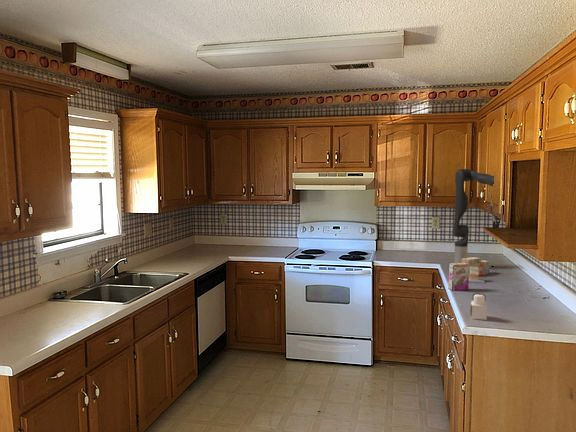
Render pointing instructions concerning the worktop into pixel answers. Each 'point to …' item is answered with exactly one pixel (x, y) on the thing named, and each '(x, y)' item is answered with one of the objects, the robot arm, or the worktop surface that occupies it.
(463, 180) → the robot arm
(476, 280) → the base plate
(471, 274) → the cream and brown block
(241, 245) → the worktop surface
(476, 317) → the medicine bottle
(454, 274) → the candy bar box
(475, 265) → the stack of blocks
